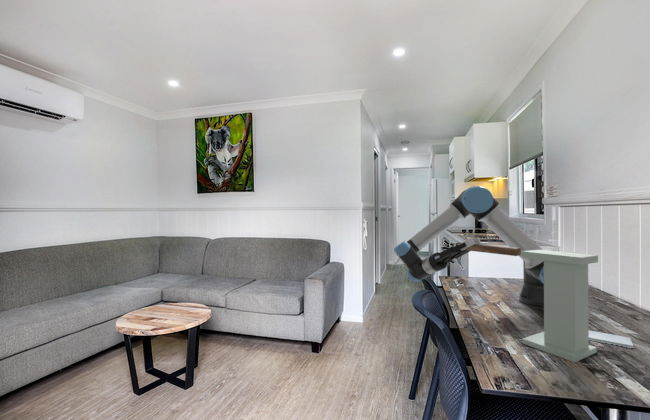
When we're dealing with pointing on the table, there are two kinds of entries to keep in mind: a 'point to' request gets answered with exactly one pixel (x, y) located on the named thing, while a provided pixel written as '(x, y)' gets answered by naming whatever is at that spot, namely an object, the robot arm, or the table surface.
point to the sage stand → (564, 304)
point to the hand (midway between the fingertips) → (476, 240)
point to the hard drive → (610, 339)
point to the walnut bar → (494, 249)
